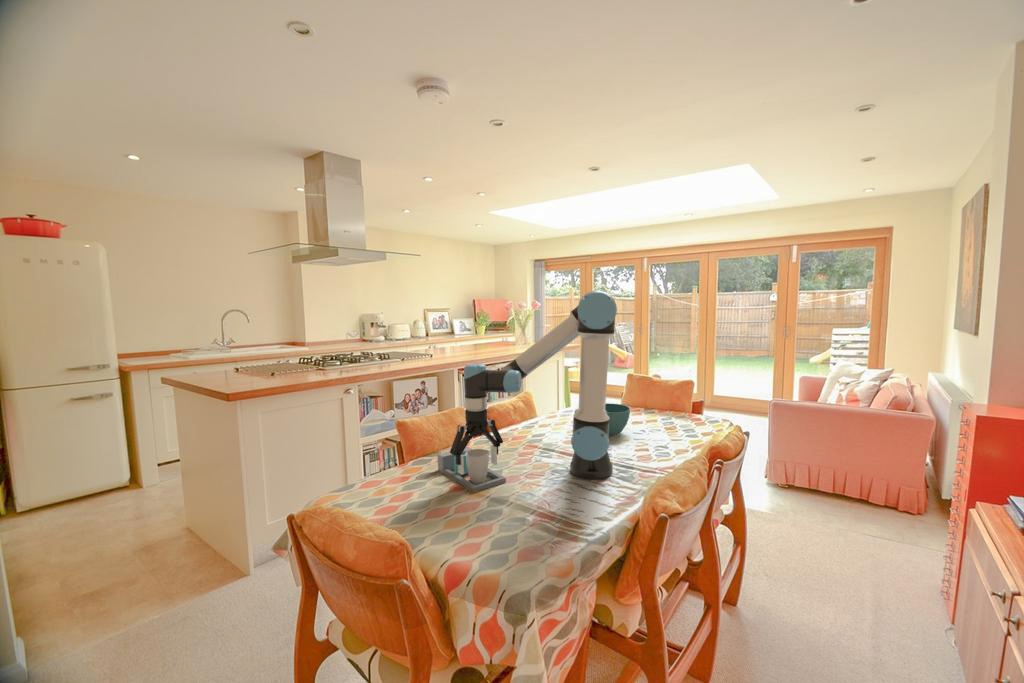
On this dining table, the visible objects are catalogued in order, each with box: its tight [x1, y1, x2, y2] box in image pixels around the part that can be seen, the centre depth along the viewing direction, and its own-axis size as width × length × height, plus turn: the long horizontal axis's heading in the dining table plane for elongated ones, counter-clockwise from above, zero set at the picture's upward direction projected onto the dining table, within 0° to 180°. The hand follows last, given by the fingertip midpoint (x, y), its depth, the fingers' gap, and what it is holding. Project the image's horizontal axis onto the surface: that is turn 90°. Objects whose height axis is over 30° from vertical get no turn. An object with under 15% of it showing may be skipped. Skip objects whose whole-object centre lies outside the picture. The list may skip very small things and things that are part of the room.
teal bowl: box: [605, 402, 631, 437], centre depth 202 cm, size 18×18×12 cm
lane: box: [437, 446, 507, 493], centre depth 157 cm, size 26×13×6 cm, turn 36°
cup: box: [465, 448, 490, 484], centre depth 152 cm, size 8×8×10 cm
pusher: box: [454, 454, 468, 476], centre depth 160 cm, size 5×9×7 cm, turn 126°
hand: (478, 468), depth 152 cm, fingers open, 13 cm apart
